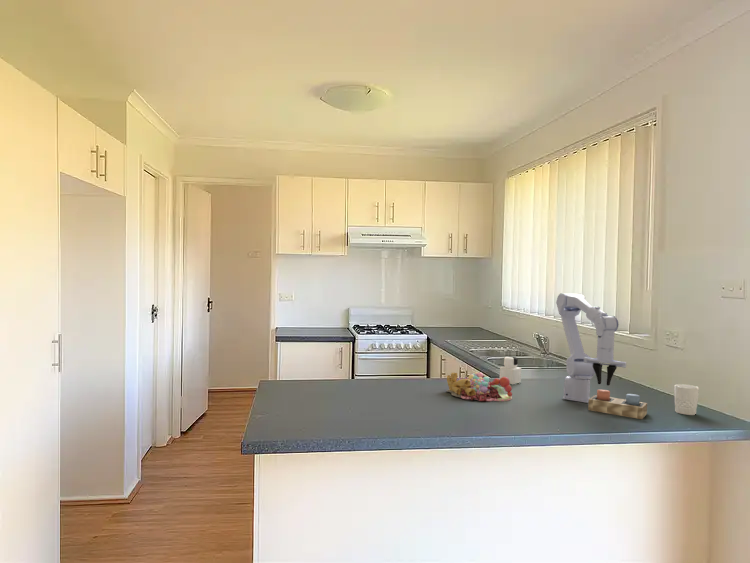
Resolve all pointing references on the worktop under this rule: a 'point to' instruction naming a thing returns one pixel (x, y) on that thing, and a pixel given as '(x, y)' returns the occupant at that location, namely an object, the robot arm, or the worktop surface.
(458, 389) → the assorted food platter
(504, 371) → the medicine bottle
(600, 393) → the pink ball
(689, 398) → the white cup
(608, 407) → the peg block
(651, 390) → the worktop surface
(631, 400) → the blue peg
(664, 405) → the worktop surface
